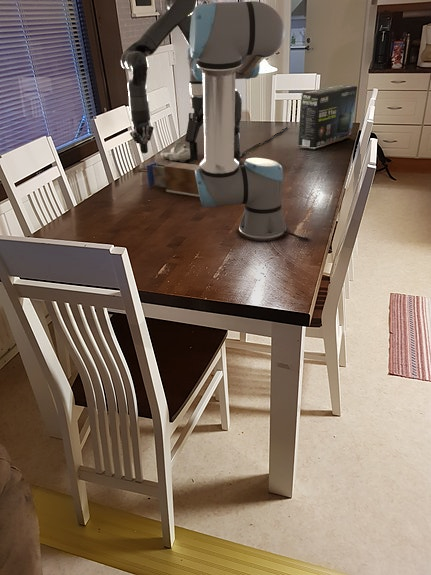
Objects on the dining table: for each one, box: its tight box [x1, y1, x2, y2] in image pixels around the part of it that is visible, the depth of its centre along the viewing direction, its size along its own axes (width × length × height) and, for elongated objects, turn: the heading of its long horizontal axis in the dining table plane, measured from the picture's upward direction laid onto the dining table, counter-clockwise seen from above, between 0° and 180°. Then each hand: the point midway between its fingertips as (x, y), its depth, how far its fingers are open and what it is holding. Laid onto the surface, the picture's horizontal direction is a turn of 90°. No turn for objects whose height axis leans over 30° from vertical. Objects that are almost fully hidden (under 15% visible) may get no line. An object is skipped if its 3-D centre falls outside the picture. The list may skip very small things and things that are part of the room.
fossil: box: [160, 142, 199, 163], centre depth 229 cm, size 18×11×15 cm
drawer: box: [136, 161, 166, 188], centre depth 188 cm, size 25×5×9 cm, turn 61°
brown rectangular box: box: [164, 161, 200, 198], centre depth 183 cm, size 21×6×10 cm, turn 61°
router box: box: [297, 84, 358, 151], centre depth 238 cm, size 36×11×27 cm, turn 134°
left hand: (144, 152), depth 188 cm, fingers closed
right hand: (203, 155), depth 174 cm, fingers open, 13 cm apart
